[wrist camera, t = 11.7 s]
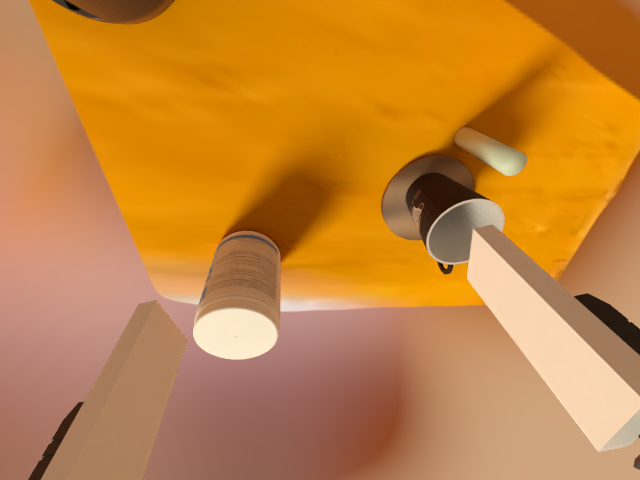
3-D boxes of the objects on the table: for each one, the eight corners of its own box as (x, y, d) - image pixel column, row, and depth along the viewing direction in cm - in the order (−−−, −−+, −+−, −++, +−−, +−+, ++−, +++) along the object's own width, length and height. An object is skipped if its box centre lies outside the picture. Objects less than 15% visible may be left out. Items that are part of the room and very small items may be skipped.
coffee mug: (417, 155, 36) (455, 188, 28) (471, 174, 39) (521, 210, 30) (377, 230, 42) (399, 275, 34) (426, 242, 45) (458, 288, 36)
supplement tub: (205, 237, 41) (171, 318, 29) (268, 220, 41) (260, 295, 29) (233, 284, 47) (215, 368, 35) (289, 270, 46) (290, 350, 34)
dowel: (452, 131, 36) (501, 158, 28) (471, 123, 36) (527, 148, 27) (454, 149, 37) (502, 179, 29) (473, 141, 37) (526, 170, 29)
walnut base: (370, 178, 38) (372, 180, 38) (467, 138, 37) (470, 140, 36) (392, 248, 46) (394, 251, 45) (474, 218, 44) (477, 221, 43)
